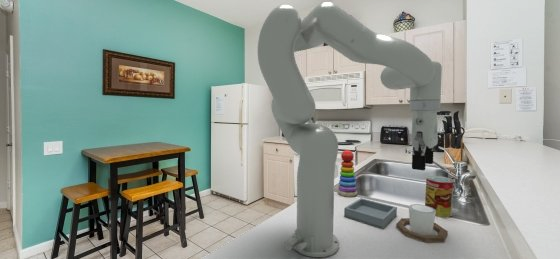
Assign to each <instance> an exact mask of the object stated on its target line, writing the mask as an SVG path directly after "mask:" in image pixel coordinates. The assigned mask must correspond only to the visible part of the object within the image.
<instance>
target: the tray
mask: <svg viewBox="0 0 560 259" xmlns="http://www.w3.org/2000/svg"><path fill="white" fill-rule="evenodd" d="M397 210H398V207H397V206H394V205H391V204H390V205H389V204H386V203H382V202H378V201H374V200H370V199H366V198H362V197H361V198H359V199H357V200H355V201H354V202H351V204H349V205H347V206H345V207H344V215H343V217H344V218H347V219H350V220H353V221H355V222H359V223H362V224H366V225H369V226H372V227H375V228H379V229H381V230H383V229H385V228H386V227H387V226H388V225H389V224H390V223H391V222H392V221H393V220H394V219H395V218H397V215H398V214H397V213H398V212H397Z"/></svg>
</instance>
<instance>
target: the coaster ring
mask: <svg viewBox="0 0 560 259" xmlns="http://www.w3.org/2000/svg"><path fill="white" fill-rule="evenodd" d="M406 225H410V219H409V217H406V218H404V217H401V218H400V219H399V220H398V222H396V224H395V228H396V229H397V230H398V231H399V232H400V233H401V234H403V235H404V236H405V237H408V238H411V239H413V240H416V241H420V242H424V243H426V244H428V243H430V244H431V243H445V241H446V239H447V237H448V234H449V233H448V232H449V231H448V230H447V229H445V228H444V227H442V226H441V225H439V224H438V223H436V222H434V226H433V231H435V232H437V233H438V234H432V235H422V234H419V233H416V232H412V231H411V230H410V229H408V228H407V226H406Z"/></svg>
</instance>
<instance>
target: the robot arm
mask: <svg viewBox="0 0 560 259" xmlns="http://www.w3.org/2000/svg"><path fill="white" fill-rule="evenodd" d="M259 31H260V32H259V36H258V41H257V62H258V65H259V69H260V72H261V74H262V77H263V79H264V81H265V83H266V85H267V87H268V90H269V92H270V93H271V95H272V97H273V98H272V100H271V112H272V114H273V117H274V119H275V122H276V124H277V126H278V127H279V129H280V131H281V133H282V134H283V136H284V138H285V140H286V142H287V144H288V145H289V147H290V149H291V150H292V151H294V153H296V154H297V155H299V160H298V161H299V162H298V165H297V172H296V229H295V230H294V232H293V234H292V235H291V236H290V239H289V240H287V241H286V242H285V248H286V249H287V250H288V251H291V250H292V249H293V250H295V251H296V252H297V253H298V254H301V255H303V256H307V257H312V258H325V257H329V256H332V255H334V254H335V253H336V252H338V250H339V248H340V241H339V239H338V237H337V236H336V235H335V234H334V209H335V208H334V207H335V204H334V203H335V172H336V170H335V169H336V164H337V159H338V153H339V141H338V137H337V135H336V133H335V132H334V131H333V130H332V129H331V128H329V127H328V126H325V125H323V124H318V123H314V122H313V120H312V118H313V117H314V116H315V113H316V102H315V99H314V98H313V96H312V93H311V91H310V90H309V87H308V86H307V83H306V82H305V79H304V78H303V75H302V74H301V72H300V69H299V67H298V64H297V62H296V57H295V52H301V51H305V50H310V49H313V48H316V47H319V46H321V45H323V44H326V45H327V46H329V47H330V48H332V49H333V50H335V51H336V52H338V53H340V54H341V55H342V56H344V57H345V58H347V59H348V60H349V61H352V62H355V63H359V64H366V65H367V64H371V65H378V66H383V67H384V68H383V69H382V70H381V74H380V82H381V84H382V85H383V86H384V87H385V88H387V89H389V90H394V91H396V90H398V91H399V90H404V89H409V112H410V113H412V119H411V122H412V123H411V135H410V136H411V138H410V139H411V140H410V141H411V146H412V154H411V160H412V161H411V169H412V170H417V171H426V165H427V164H429V165H432V164H434V147H436V146H437V145H438V143H439V141H438V139H439V138H438V137H439V136H438V133H439V132H438V127H439V126H438V113H440V112H441V106H442V104H441V98H442V76H443V75H442V72H443V71H442V70H443V67H442V63H441V62H439V61H435V60H434V61H432V59H431V58H430V57H429V56H428V55H427V54H426V53H424V52H423V51H422V50H421V49H419V48H418V47H417V46H416V45H414V44H413V43H410V42H408V41H407V40H403V39H400V38H398V37H397V38H396V37H393V36H389V35H387V34H382V33H377V32H375V31H373V30H371V29H370V28H368V27H367V26H365V25H364V24H363V23H362V22H360V21H359V20H358V19H356V18H355V17H353V16H352V15H350V14H349V13H348V12H347V11H345V10H344V9H342V8H341V7H340V6H339V5H337V4H336V3H333V2H330V1H325V2H324V1H323V2H322V3H320V4H318V5H316V6H315V7H314V8H313V9H311V10H310V12H309V13H308V14H307V15H306V16H305V17H301V16H300V14H299V12H298V11H297V9H296V8H295V7H293V6H291V5H290V4H289V5H288V4H282V5H281V4H280V5H278V6H277V7H275V8H273V9H272V11H270V12H269V14H268V15H267V17H266V19H265V20H264V22H263V24H262V27H261V29H260V30H259Z"/></svg>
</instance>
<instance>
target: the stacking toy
mask: <svg viewBox="0 0 560 259" xmlns="http://www.w3.org/2000/svg"><path fill="white" fill-rule="evenodd" d="M340 158H341V160H342V161H341V164H340V165H341V167H340V171H339V174H340V175H339V181H338V190H337V193H338V194H339V195H340V196H343V197H347V198H349V197H350V198H351V197H352V198H353V197H356V196H357V195H358V191H357V189H358V187H357V180H356V179H357V178H356V176H355V174H356V173H355V167H354V164H355V163H354V162H353V160H354V158H355V156H354V153H353V151H351V150H349V149H345V150H343V151H342V152H341V154H340Z"/></svg>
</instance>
